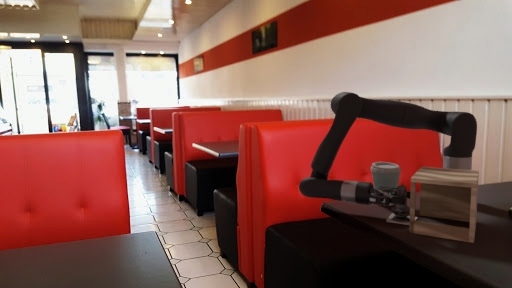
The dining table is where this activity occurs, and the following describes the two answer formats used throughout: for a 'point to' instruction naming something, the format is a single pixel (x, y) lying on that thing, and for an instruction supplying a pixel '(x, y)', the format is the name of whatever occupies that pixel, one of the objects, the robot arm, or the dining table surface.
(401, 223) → the mat
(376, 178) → the disposable coffee cup
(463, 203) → the hutch
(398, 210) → the salt shaker
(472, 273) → the dining table surface
